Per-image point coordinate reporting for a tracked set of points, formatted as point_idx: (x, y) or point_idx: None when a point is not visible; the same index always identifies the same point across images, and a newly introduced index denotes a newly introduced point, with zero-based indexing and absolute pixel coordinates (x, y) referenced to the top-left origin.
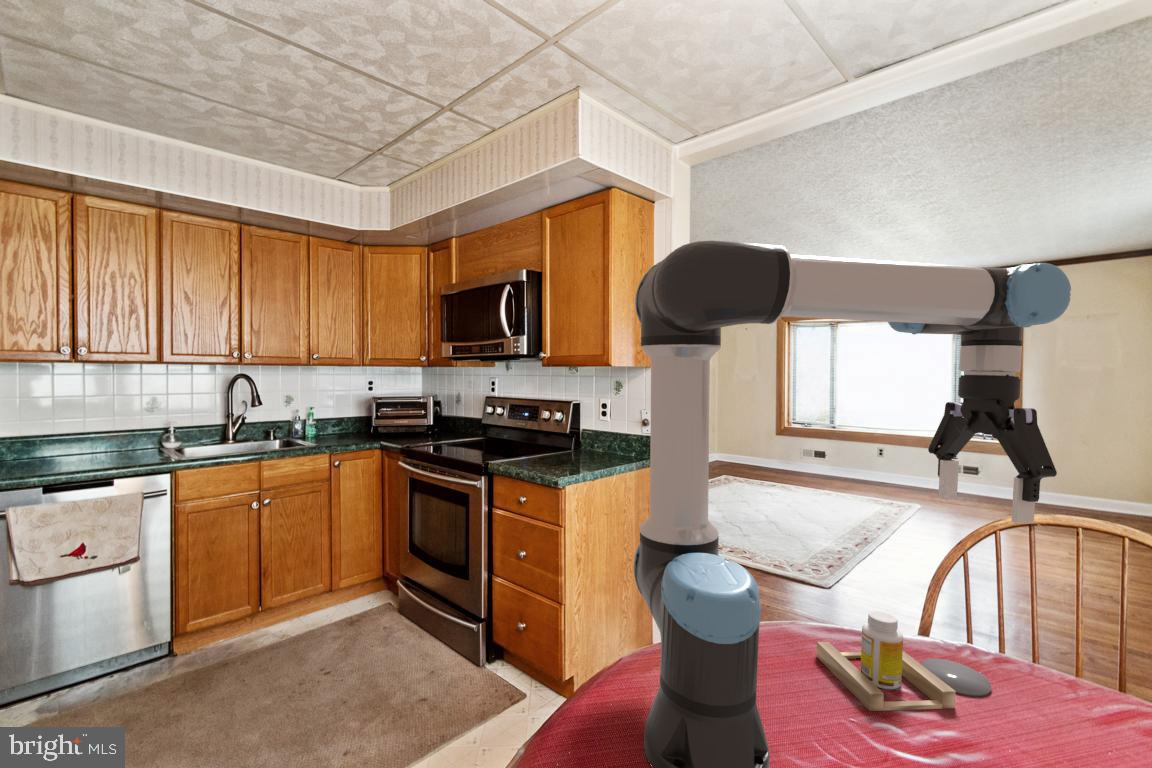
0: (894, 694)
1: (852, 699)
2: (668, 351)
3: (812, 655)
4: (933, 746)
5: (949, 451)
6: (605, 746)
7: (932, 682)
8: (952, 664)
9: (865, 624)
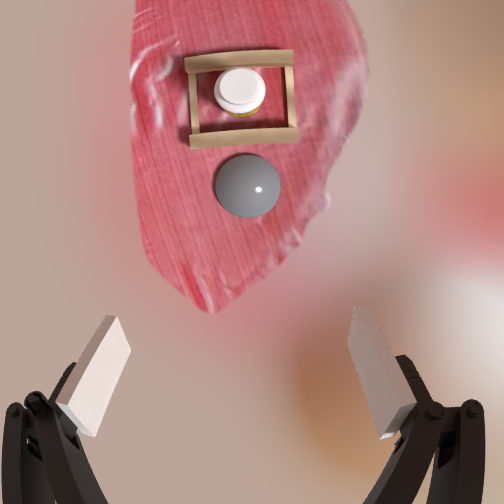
0: None
1: None
2: None
3: None
4: (142, 96)
5: (399, 452)
6: None
7: (206, 134)
8: (267, 199)
9: (252, 72)
